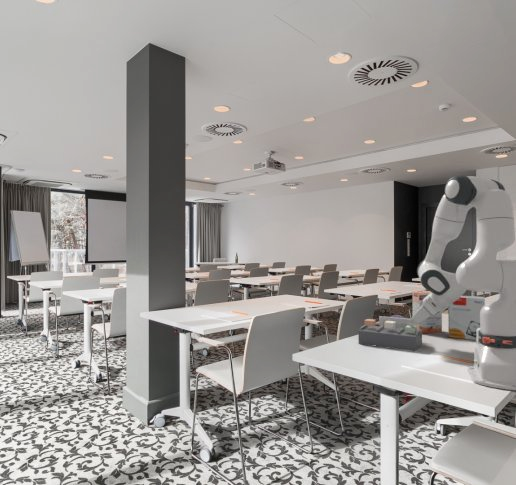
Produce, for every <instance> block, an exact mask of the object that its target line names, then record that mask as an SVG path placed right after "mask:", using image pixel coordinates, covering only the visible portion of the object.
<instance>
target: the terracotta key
mask: <svg viewBox="0 0 516 485" xmlns="http://www.w3.org/2000/svg"><path fill="white" fill-rule="evenodd" d="M363 323H364V325H363V326H371V327H373V326H377V319H373V318H367V319H364V322H363Z"/></svg>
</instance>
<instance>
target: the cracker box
mask: <svg viewBox="0 0 516 485" xmlns="http://www.w3.org/2000/svg"><path fill="white" fill-rule="evenodd" d="M430 293H431V292H430V291H429V290H425V291H424V290H423V291H412V316H413V315H414V314H415V313H416V312H417V311H418V310H419V309H420V307H421V306H422V304H423V299H424V298H425V297H426V296H427V295H429V294H430ZM414 326H417V331H418V330H419V329H421V331H422V334H431V333H432V334H433V333H442V332H443V312H442V313H441V314H440V315H434V316H433V315H432V316H431V317H429V318H427V319H426V320H424V321H423V322H421V323H420V324H418V325H416V324H414Z"/></svg>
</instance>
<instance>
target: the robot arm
mask: <svg viewBox="0 0 516 485" xmlns="http://www.w3.org/2000/svg"><path fill="white" fill-rule="evenodd" d="M443 192H444V194H443V195H442V196H441V199H440V201H439V203H438V206H437V208H436V211H435V214H434V218H433V222H432V229H431V230H432V231H431V239H430V243H429V246H428V248H427V253H426V255H425V257H424V258H423V260H422V261H420V263H419V264H418V266H417V268H416V274H417V276H418V279H419V280H420V284H421V286H422V287H423V288H424V289H426V291H430V292H431V293H430V294H429V295H427V296H426V297H425V298H424V299H423V304H422V306H421V307H420V309H419V310H418V311H417V312H416V313H415V314H414V315H413V314H412V316H411V318H410V319H411V320H412V321H411V322H410V323H408V325H409V326H410V327H412V326H413V325H414V324H416V325H418V324H420V323H421V322H423V321H424V320H426V319H427V318H429V317H431V316H432V315H433V316H434V315H440V314H441V313H442V314H443V312H444V311H446V310H447V309H448V307H449V305H450V304H451V303H453V302H455V301H456V300H457V299H459V298H460V297H461V296H464V294H465V293H466V292H467V291H471V292H477V293H498V295H497V298H496V299H495V300H493V301H492V302H489V303H487V304H486V303H485V306H483V307H482V309H481V311H480V331H479V335H478V337H479V342H480V343H479V344H478V345H477V344H476V345H475V346H474V352H473V353H474V359H473V360H472V363H473V366H472V365H471V366H468V367H467V371H468V373H469V375H470V377H471V380H472V382H474V383H475V384H477V385H481V386H485V387H490V388H495V389H501V390H508V391H509V390H510V391H516V260H511V259H507V260H506V259H505V260H504V259H503V260H501V259H497V255H498V253H499V252H502V251H503V250H506V249H508V248H509V247H510V248H511V246H512V245H514V243H515V241H516V233H515V232H516V230H515V229H516V228H515V214H514V208H513V203H512V200H511V196H510V193H509V192H507V191H506V188H505V186H504V185H503V184H502V183H501V182H500V181H497V180H495V179H489V178H486V177H485V178H484V177H480V176H475V175H474V176H472V175H468V176H467V175H456V176H452V177H450V178H449V179H448V180H447V182H446V184H445V186H444V190H443ZM472 208H475V210H476V226H477V227H476V230H477V232H476V243H475V248H474V250H473V251H472V253H471V254H470V256H469V257H468V258H467V259H465V260H464V261H462V262H461V263H460V264H459V265H458V266H457V268H456V271H455V272H449V271H446V270H443V269H442V266H441V265H442V264H441V262H442V258H443V255H444V252H445V249H446V247H447V245H448V243H450V242H451V241H454V240H456V239H458V237H459V235H461V233H462V230H463V228H464V225H465V221H466V218H467V214H468V212H469V210H471V209H472Z"/></svg>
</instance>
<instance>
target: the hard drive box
mask: <svg viewBox="0 0 516 485" xmlns="http://www.w3.org/2000/svg"><path fill="white" fill-rule="evenodd" d="M485 301H486V299H485V297H484V296H475V295H462V296H461V297H460V298H459V299H457V300H456V301H455V302H453V303H451V304H450V305H449V307H448V308H447V309H448V314H447V316H448V329H447V330H448V336H447V337H448V338H454V339H465V340H474V341H477V339H476V330H477V329H478V328H480V311H481V309H482V307H483V306H485V305H486V303H485Z"/></svg>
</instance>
